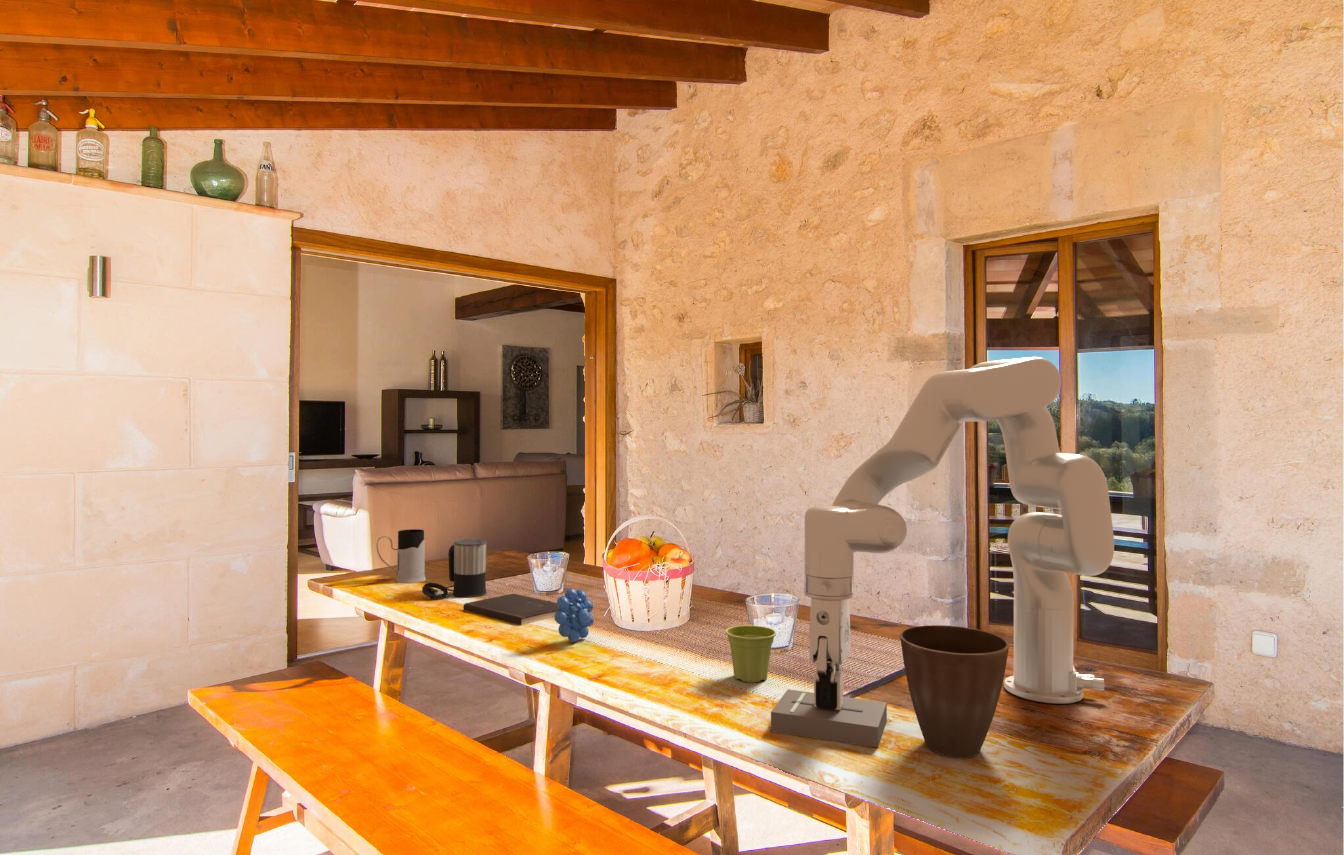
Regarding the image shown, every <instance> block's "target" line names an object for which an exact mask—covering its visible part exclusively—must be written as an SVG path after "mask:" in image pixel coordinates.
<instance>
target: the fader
mask: <svg viewBox="0 0 1344 855" xmlns="http://www.w3.org/2000/svg"><path fill="white" fill-rule="evenodd" d="M830 671H831V670H830ZM813 675H814V676H813V693H814V706H815V707H817V706H816V671H815V672H814V674H813ZM835 682H837V708H836V709H837V710H840V709H841V707H842V705H843V697H844V671H835Z"/></svg>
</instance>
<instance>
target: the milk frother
mask: <svg viewBox="0 0 1344 855" xmlns="http://www.w3.org/2000/svg"><path fill="white" fill-rule="evenodd" d="M487 543H488V541H487V540H485V539H481V538H480V539H478V538H477V539H475V538H469V539H468V538H467V539H456V540H454V541H453V545H450V547H449V549H448V574H449V575H448V578H449V581H450V582H453V589H450V588H449V587H446V586H445V585H442V584H439V583H436V582H427V583H425V584H423V586H422V587H421V588H422V590H421V592H422V594H423V595H424V596H426V597H427V598H429V599H444V598H447V597H448V594H449V592H452V595H453V596H455V597H459V598H460V597H461V598H475V597H476V598H477V597H481V596H484V595H486V594H487V593H488V591H487V587H486V586H487V585H486V584H487V582H486V573H487V572H486V571H487V570H486V569H487V568H486V567H487ZM439 590H440V591H441V592H442V593H439V594H438V592H439Z"/></svg>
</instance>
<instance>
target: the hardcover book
mask: <svg viewBox="0 0 1344 855" xmlns="http://www.w3.org/2000/svg"><path fill="white" fill-rule="evenodd" d="M462 606H463V607H462V609H463V612H464V611H465V612H468V613H472V614H476V615H480V616H483V617H487V618H491V619H494V620H499V621H503V622H506V623H511V624H513V625H517V626H523V625H527V624H532V623H536V622H540V621H544V620H548V619H551V618H553V619H554V615H555V613H556V611H558V610H561V609H559V607H558V606H557V602H554V601H550V600H549V601H548V600H544V599H539V598H535V597H530V596H526V595H522V594H518V593H509V594H505V595H501V596H495V597H490V598H484V599H479V600H474V601H470V602H465V603H464V604H463V605H462Z"/></svg>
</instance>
